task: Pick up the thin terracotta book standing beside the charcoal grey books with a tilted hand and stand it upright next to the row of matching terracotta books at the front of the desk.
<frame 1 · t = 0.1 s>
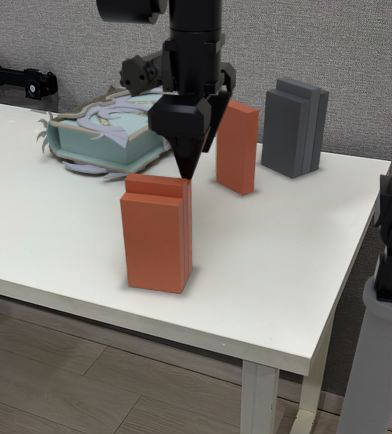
hand: (196, 165, 71), 12 cm above the table, tool pointing down, fingers open, 9 cm apart
grey books: (289, 166, 100), on the table
terracotta books: (161, 277, 73), on the table
ornate book: (126, 150, 106), on the table
terracotta book: (234, 186, 94), on the table
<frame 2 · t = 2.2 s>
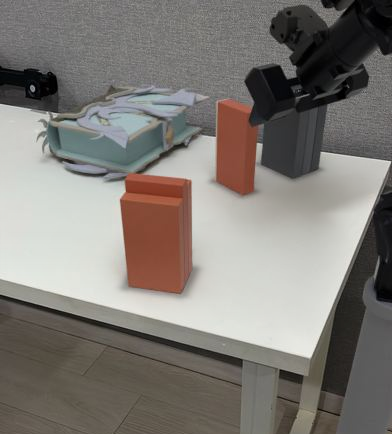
hand: (274, 116, 80), 13 cm above the table, tool tilted 45°, fingers open, 9 cm apart
nothing on the table moved.
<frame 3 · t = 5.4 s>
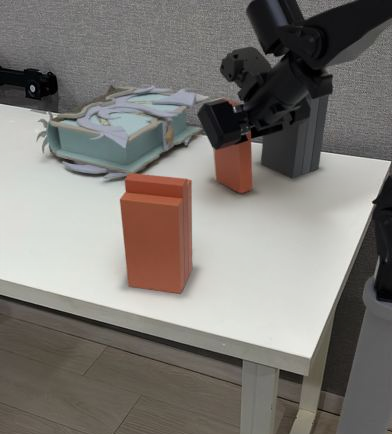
hand: (228, 141, 90), 7 cm above the table, tool tilted 45°, fingers closed on terracotta book, 3 cm apart
terracotta book: (233, 184, 94), on the table, touching gripper
everything else where it was.
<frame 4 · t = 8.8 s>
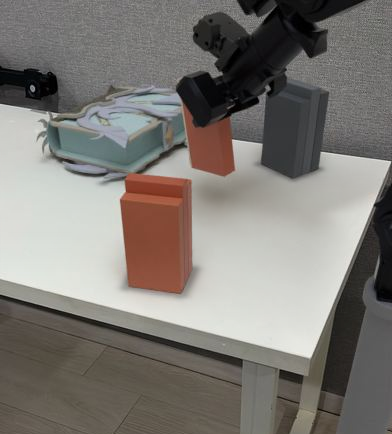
hand: (200, 121, 82), 12 cm above the table, tool tilted 45°, fingers closed on terracotta book, 3 cm apart
terracotta book: (213, 169, 86), point 6 cm above the table, tilted 8°, touching gripper
everything else where it was.
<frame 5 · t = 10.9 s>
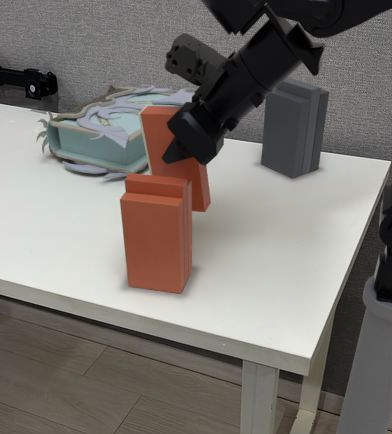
hand: (167, 156, 72), 12 cm above the table, tool tilted 45°, fingers closed on terracotta book, 3 cm apart
terracotta book: (184, 205, 77), point 5 cm above the table, tilted 8°, touching gripper
everything else where it was.
when the fingers open (7 cm above the table, at t = 12.6 s): terracotta book stays where it is, on the table.
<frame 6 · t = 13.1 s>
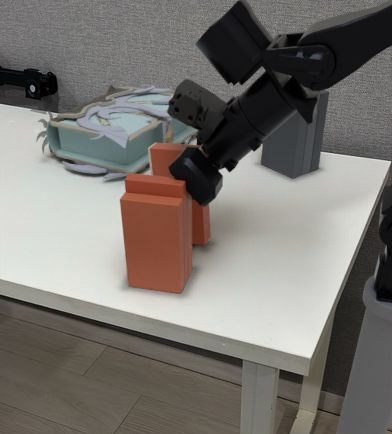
hand: (170, 191, 76), 7 cm above the table, tool tilted 45°, fingers open, 6 cm apart
terracotta book: (185, 238, 80), on the table
everything else where it was.
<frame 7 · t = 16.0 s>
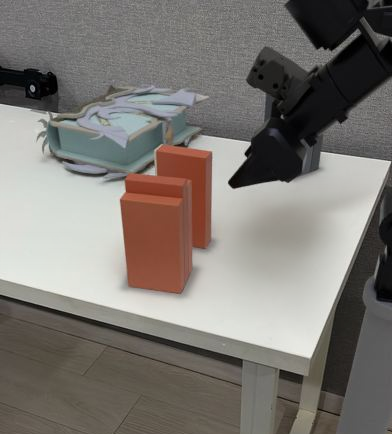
hand: (238, 170, 71), 12 cm above the table, tool tilted 45°, fingers open, 9 cm apart
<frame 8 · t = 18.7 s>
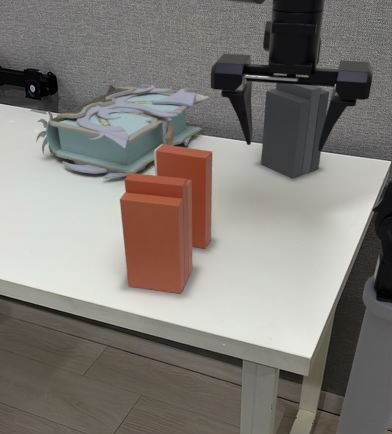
hand: (284, 146, 73), 13 cm above the table, tool pointing down, fingers open, 9 cm apart
nothing on the table moved.
at the end: terracotta book inside the target area on the table beside the terracotta books (1.2 cm from its centre), on the table; terracotta book tilted 0°; the gripper is holding nothing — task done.
